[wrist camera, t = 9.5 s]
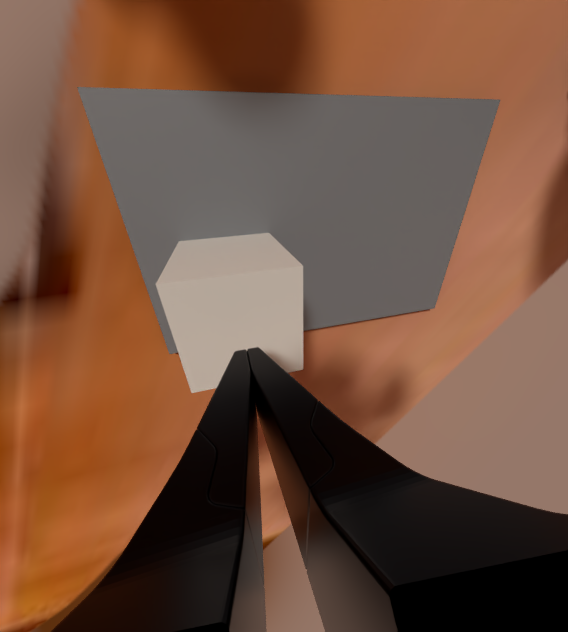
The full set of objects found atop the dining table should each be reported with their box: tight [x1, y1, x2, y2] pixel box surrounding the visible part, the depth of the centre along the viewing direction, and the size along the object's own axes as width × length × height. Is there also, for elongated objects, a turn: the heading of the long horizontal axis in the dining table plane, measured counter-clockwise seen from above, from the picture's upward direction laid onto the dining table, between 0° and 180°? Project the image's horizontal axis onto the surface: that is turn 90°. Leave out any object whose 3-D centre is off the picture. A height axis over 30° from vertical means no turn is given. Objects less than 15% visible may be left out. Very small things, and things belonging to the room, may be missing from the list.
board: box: [77, 87, 500, 354], centre depth 16 cm, size 22×14×1 cm, turn 92°
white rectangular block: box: [156, 233, 303, 393], centre depth 13 cm, size 5×5×7 cm
